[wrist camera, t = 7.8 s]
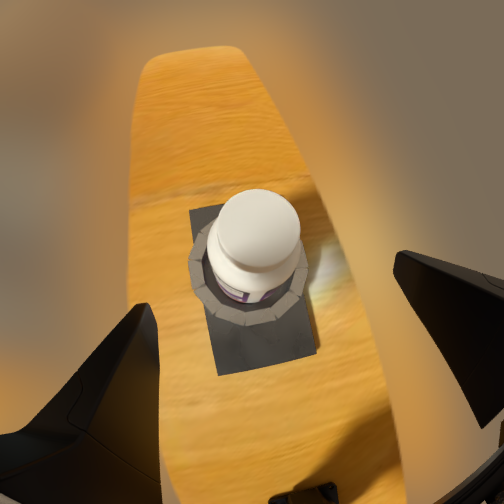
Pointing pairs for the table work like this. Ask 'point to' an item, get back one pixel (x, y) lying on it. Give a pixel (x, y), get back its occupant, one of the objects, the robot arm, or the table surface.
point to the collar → (233, 314)
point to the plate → (254, 336)
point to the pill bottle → (254, 245)
